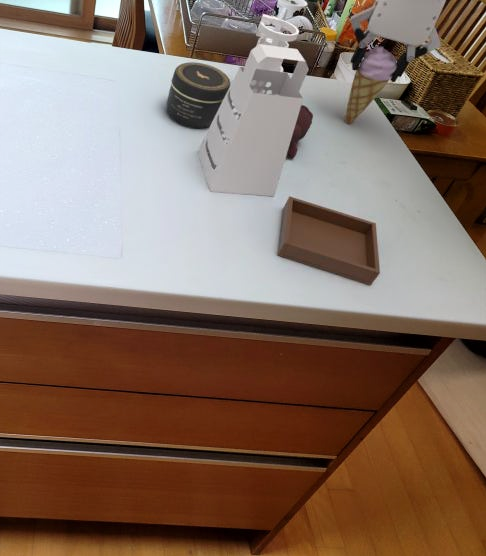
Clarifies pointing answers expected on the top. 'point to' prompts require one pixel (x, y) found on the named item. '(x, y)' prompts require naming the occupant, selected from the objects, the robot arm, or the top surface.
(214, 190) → the grater
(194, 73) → the jar
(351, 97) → the ice cream cone
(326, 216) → the tray
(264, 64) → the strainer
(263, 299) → the top surface
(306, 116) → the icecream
